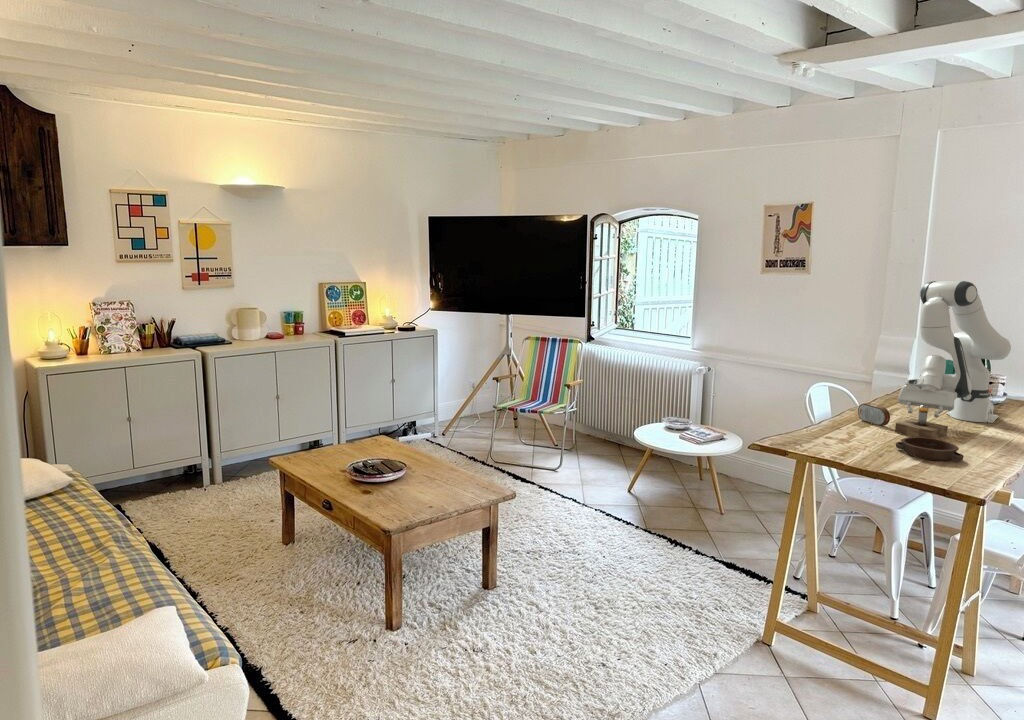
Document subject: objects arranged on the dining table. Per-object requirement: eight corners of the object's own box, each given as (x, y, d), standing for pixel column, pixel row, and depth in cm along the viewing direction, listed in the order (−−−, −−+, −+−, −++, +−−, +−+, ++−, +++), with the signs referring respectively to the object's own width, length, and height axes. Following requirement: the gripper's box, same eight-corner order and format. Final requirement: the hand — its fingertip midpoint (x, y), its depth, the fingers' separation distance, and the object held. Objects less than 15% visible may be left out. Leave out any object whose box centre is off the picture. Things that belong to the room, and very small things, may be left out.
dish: (901, 445, 270) (902, 432, 269) (967, 457, 255) (969, 444, 254) (888, 454, 257) (890, 441, 256) (958, 468, 242) (960, 454, 242)
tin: (889, 427, 295) (891, 408, 294) (884, 428, 294) (886, 408, 293) (861, 419, 309) (863, 400, 308) (855, 419, 308) (857, 401, 306)
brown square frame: (911, 427, 295) (912, 418, 294) (946, 435, 284) (947, 426, 283) (894, 432, 287) (895, 423, 286) (930, 440, 276) (931, 431, 275)
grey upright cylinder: (918, 432, 288) (921, 404, 286) (926, 434, 285) (930, 406, 283) (914, 433, 286) (918, 405, 284) (922, 435, 283) (926, 407, 281)
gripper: (958, 395, 287) (952, 423, 281) (902, 388, 299) (895, 414, 293) (958, 386, 283) (952, 414, 277) (901, 379, 295) (895, 406, 289)
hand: (922, 414), depth 285 cm, fingers open, 8 cm apart
